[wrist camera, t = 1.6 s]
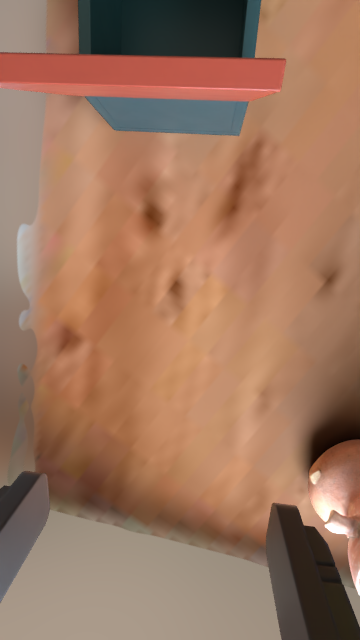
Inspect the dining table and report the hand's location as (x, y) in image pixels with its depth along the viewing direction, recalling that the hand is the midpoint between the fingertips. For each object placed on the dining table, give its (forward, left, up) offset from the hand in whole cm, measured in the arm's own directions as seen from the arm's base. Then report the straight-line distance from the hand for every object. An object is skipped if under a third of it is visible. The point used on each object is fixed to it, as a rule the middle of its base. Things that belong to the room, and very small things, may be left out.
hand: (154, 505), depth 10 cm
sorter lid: (-15, -11, -12) cm, 22 cm away
